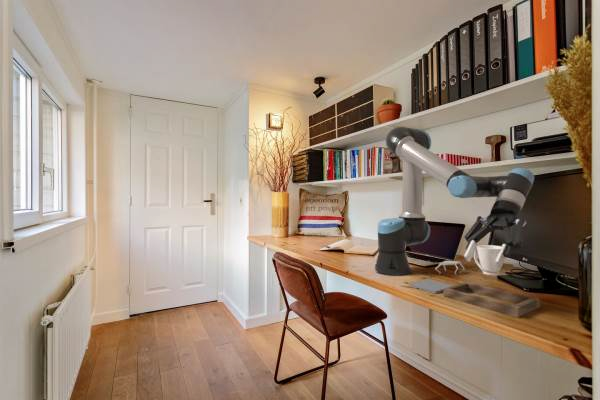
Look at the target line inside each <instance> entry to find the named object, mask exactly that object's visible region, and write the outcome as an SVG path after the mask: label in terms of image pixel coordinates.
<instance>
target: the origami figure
mask: <svg viewBox="0 0 600 400" xmlns="http://www.w3.org/2000/svg"><path fill="white" fill-rule="evenodd" d="M458 264H459V266H460V267H461V268H462V269H461V270H459V267H458V266H457V265H458ZM441 266H442V267H443V269H444V272H447V268H446V266H455V267H456V269H455V271H454V275H456V276H457V272H458V270H459V273H460V274H462V271H464V270H465V269H466V268H465V267H464V265H463V264H462V261H457V260H454V261H453V260H444V261H442V262H439V263H438V265H437V266H436V267H435V268H434V270H435V271H436V272H438V275H441V274H442V272H441V271H440V270H438V269H439V268H440V267H441Z"/></svg>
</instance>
